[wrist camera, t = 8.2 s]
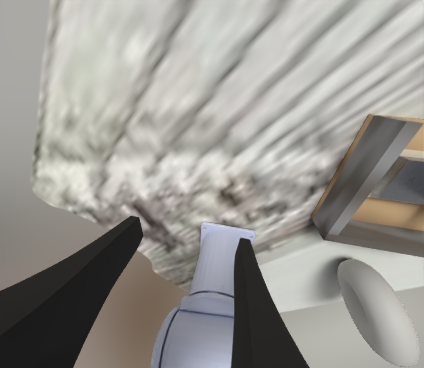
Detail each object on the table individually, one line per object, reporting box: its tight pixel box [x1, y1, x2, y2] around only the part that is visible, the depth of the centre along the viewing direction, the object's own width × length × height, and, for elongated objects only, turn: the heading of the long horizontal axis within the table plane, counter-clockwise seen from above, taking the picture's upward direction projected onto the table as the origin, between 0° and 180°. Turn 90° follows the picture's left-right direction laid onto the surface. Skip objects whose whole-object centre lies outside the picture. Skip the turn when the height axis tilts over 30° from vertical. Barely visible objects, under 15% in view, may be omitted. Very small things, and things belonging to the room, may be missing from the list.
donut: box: [337, 259, 420, 367], centre depth 19 cm, size 10×4×10 cm, turn 20°
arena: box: [311, 114, 424, 257], centre depth 14 cm, size 12×12×4 cm
